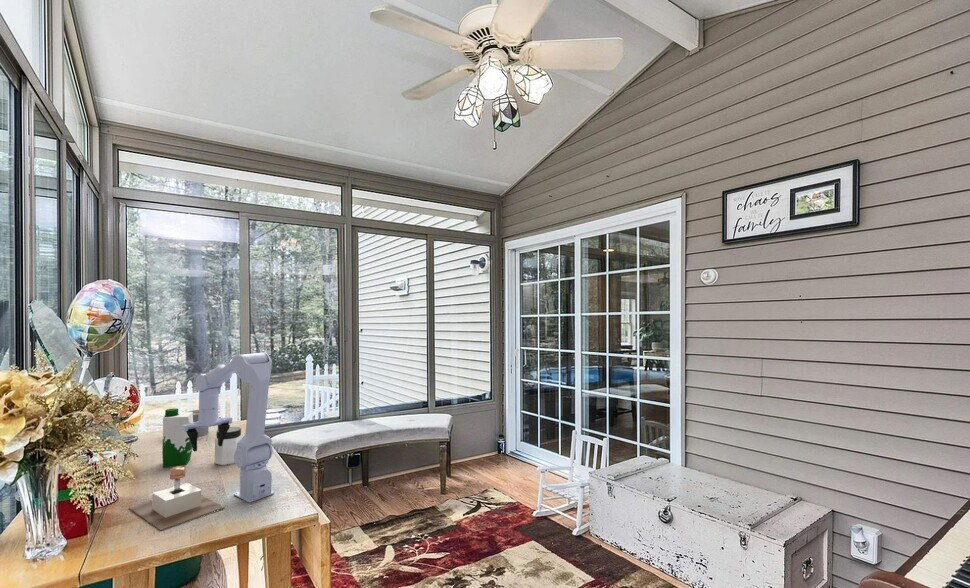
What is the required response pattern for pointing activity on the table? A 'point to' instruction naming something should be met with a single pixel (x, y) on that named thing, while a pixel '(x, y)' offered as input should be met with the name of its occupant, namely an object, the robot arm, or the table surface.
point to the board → (177, 519)
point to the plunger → (177, 477)
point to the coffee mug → (196, 418)
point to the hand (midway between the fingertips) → (207, 448)
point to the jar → (227, 446)
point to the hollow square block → (176, 500)
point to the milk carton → (176, 438)
